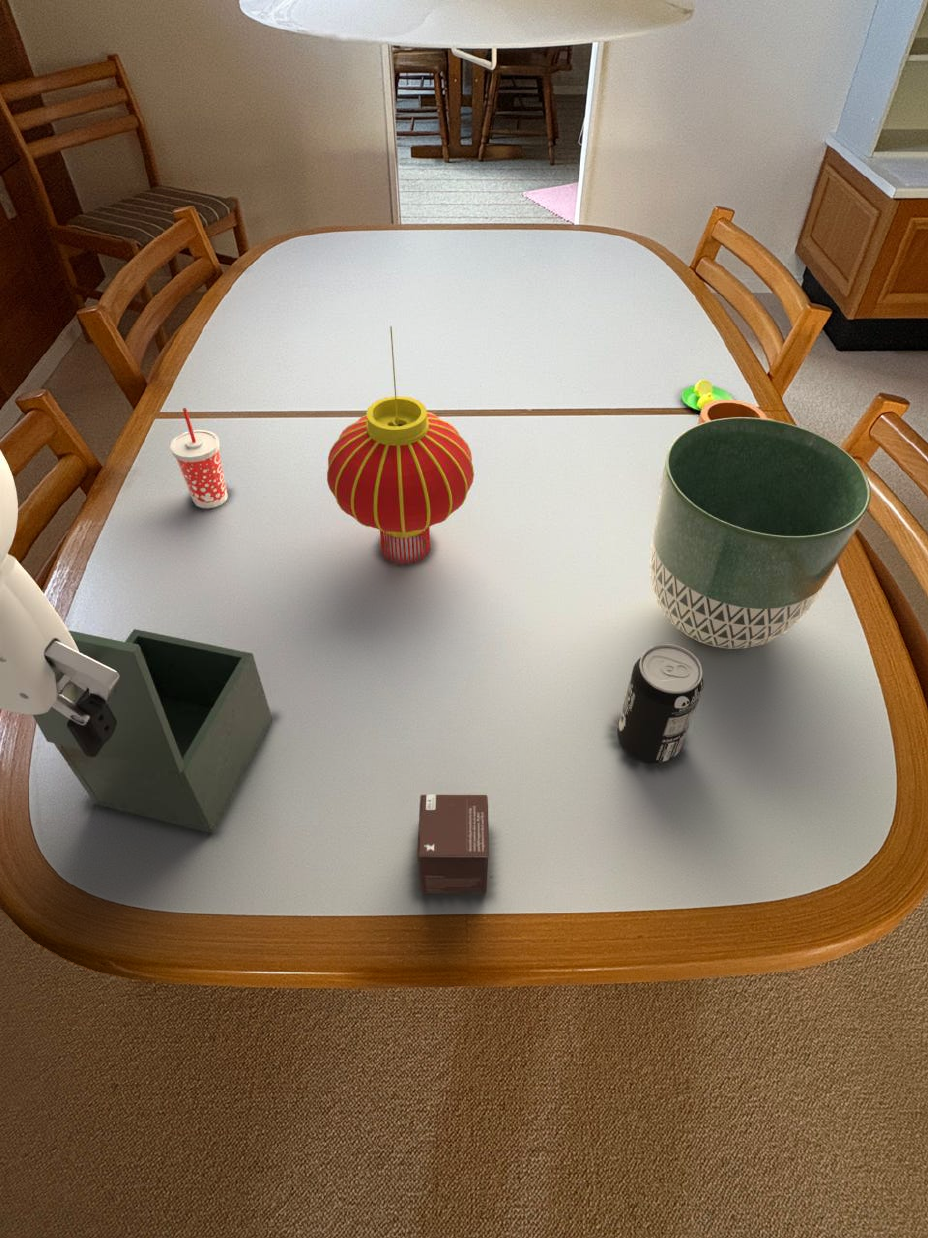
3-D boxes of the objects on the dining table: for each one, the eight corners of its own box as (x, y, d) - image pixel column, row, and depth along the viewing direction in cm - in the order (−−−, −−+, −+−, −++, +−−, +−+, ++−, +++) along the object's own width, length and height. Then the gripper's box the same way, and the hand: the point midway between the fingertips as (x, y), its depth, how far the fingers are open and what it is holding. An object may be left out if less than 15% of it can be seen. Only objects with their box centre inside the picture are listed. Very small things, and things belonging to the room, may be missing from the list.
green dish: (670, 394, 126) (674, 379, 124) (711, 383, 128) (715, 368, 126) (700, 420, 121) (705, 404, 119) (742, 408, 123) (747, 392, 121)
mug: (774, 497, 108) (794, 442, 102) (685, 485, 110) (700, 430, 104) (771, 459, 114) (790, 405, 108) (687, 448, 116) (701, 394, 109)
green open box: (164, 695, 85) (134, 628, 77) (272, 719, 83) (252, 653, 75) (94, 804, 76) (51, 741, 68) (213, 834, 74) (184, 772, 66)
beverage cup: (218, 516, 105) (192, 426, 95) (179, 506, 107) (149, 417, 96) (241, 489, 109) (219, 400, 99) (203, 480, 111) (176, 392, 100)
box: (487, 896, 70) (489, 858, 65) (419, 895, 70) (416, 857, 65) (486, 833, 74) (488, 793, 69) (422, 832, 74) (419, 792, 69)
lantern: (486, 517, 105) (493, 299, 83) (450, 607, 94) (447, 382, 72) (367, 495, 108) (343, 279, 86) (318, 580, 97) (276, 356, 75)
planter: (673, 543, 102) (713, 396, 86) (822, 606, 94) (895, 458, 79) (601, 634, 91) (631, 486, 75) (763, 714, 83) (834, 567, 68)
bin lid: (-14, 612, 58) (-61, 657, 55) (139, 644, 56) (100, 693, 53) (52, 734, 68) (16, 779, 65) (184, 766, 66) (155, 814, 63)
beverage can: (616, 711, 84) (634, 636, 75) (678, 718, 83) (705, 644, 74) (615, 763, 79) (635, 691, 70) (681, 771, 79) (710, 699, 70)
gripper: (-255, 569, 43) (-94, 743, 56) (18, 627, 41) (123, 797, 53) (-152, 487, 48) (-25, 665, 61) (99, 534, 46) (177, 710, 58)
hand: (44, 726), depth 57 cm, fingers open, 9 cm apart
